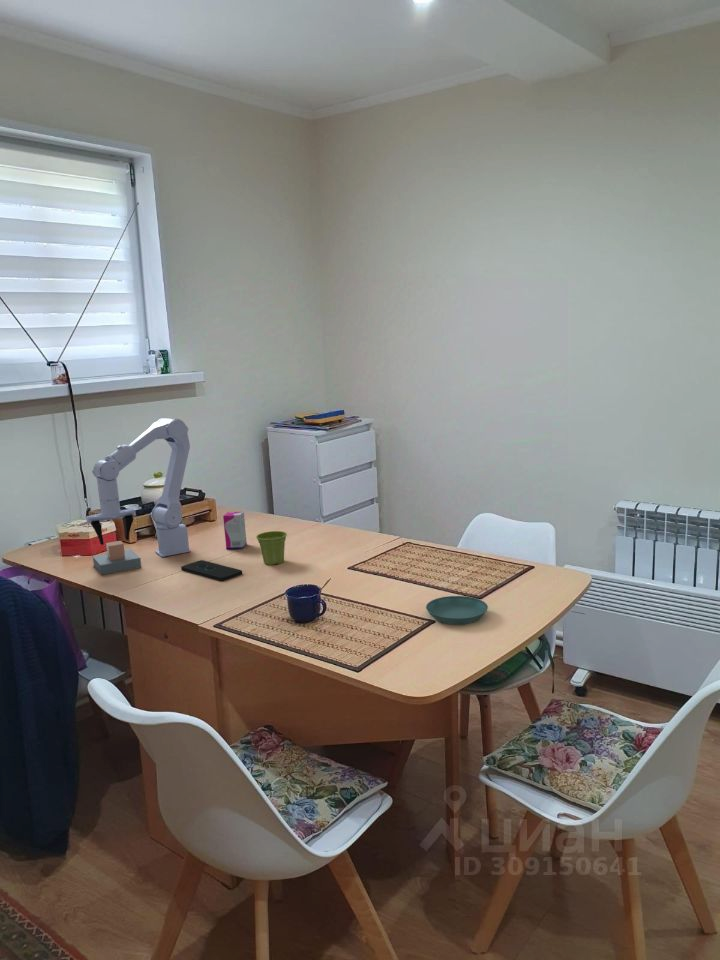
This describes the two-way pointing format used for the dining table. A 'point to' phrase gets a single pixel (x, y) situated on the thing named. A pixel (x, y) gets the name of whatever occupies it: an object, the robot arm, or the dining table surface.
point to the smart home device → (211, 570)
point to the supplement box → (235, 530)
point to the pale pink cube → (115, 550)
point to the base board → (116, 562)
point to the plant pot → (272, 546)
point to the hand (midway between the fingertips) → (114, 541)
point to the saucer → (457, 609)
